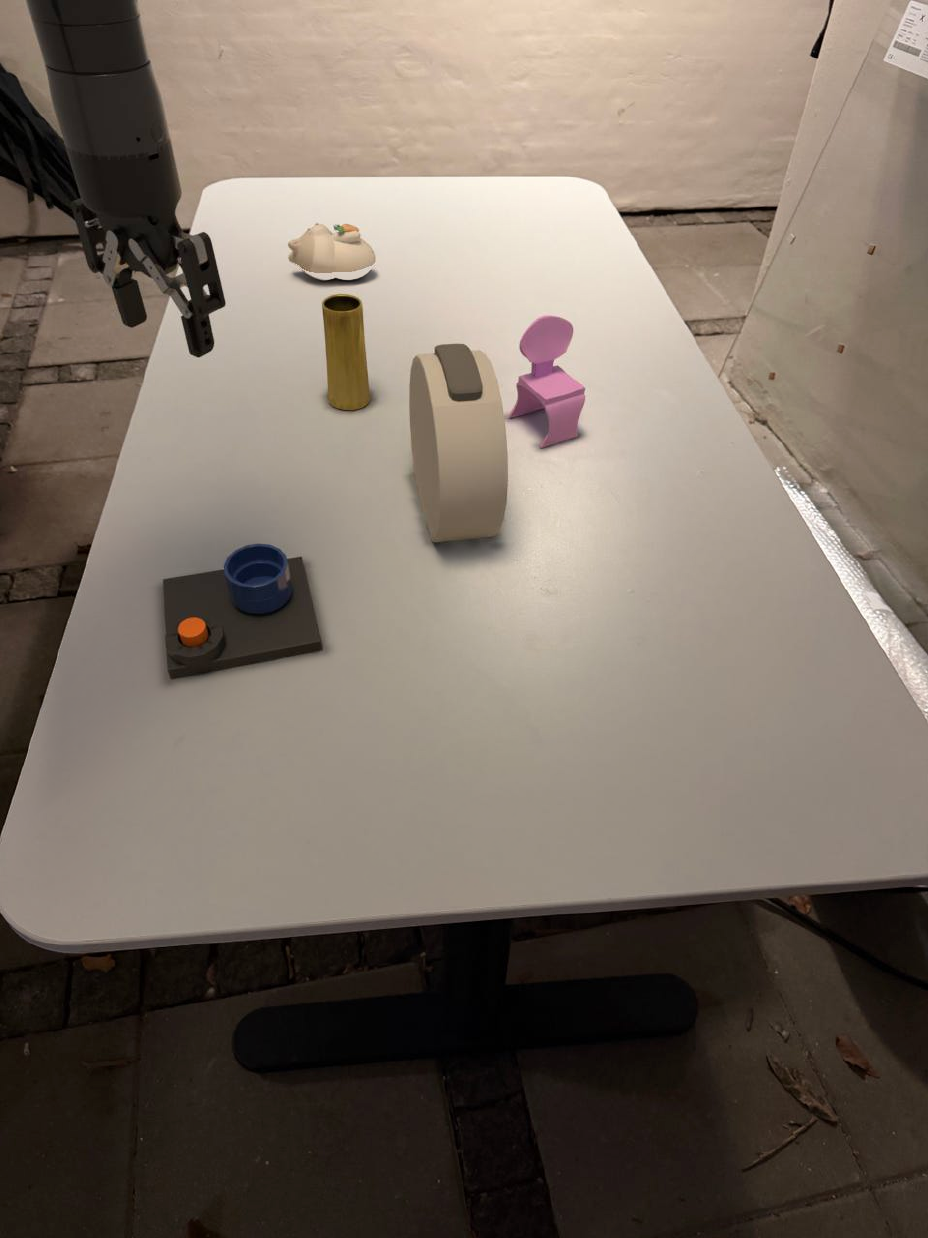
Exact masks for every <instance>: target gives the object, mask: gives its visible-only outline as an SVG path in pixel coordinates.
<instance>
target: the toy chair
mask: <svg viewBox="0 0 928 1238" xmlns="http://www.w3.org/2000/svg"><path fill="white" fill-rule="evenodd" d="M573 335H574V326H573V324H572V322H570V321H569V320H567V319H565V318H563V317H560V316H556V315H542V316H540V317H538V318H536V319H535V320H534V321H532V322H531V324H530V325H529V326H528V327H527V328H526V329H525V331H524V333H523V334H522V335H521V338H520V341H519V348H518V349H519V351H520V353H521V355H522V356H523V357H524V358H526V359H527V360H528V362H529V363H531V365H530V366H531V368H530V369H531V370H530V371H531V372H529V373H525V374H522V375H519V376H518V380H517V382H516V384H515V385H516V390H517V397H516V398H517V399H516V402H515V404H514V406H513V408H512V409H511V411H510V413H509V414H508V416H507V418H508V419H510V420H511V419H514V418H517V417H520V416H523V415H526V414H527V415H528V414H530V413H533V412H536V411H540V410H543V409H544V411H545V414H546V416H547V420H548V423H549V429H548V432H547V434H546V435H545V437H544V439H543V440H542V442H541V444H540V445H539V449H544V448H547V447H550V446H552V445H556V444H559V443H561V442H565V441H568V440H571V439H573V438H576V437H578V436H579V433H578V432H579V431H578V430H579V429H578V428H579V427H578V426H579V419H580V416H581V413H582V411H583V408H584V404H585V402H586V395H585V391H586V387H585V386H584V385H583V384H582V383H580V382H579V381H578V380H576V379H574V378H573V377H572V376H571V375H569V374H568V373H567V372H566V371H565V370H564V369H563V368H562V367H560V365H558V364H557V365H554V362H555V360H556V359H558V358H560V357H561V356H562V355H564V354H566V353H567V351H568V349H569V346H570V344H571V343H572V339H573V337H574V336H573Z"/></svg>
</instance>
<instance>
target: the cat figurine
mask: <svg viewBox="0 0 928 1238" xmlns="http://www.w3.org/2000/svg"><path fill="white" fill-rule="evenodd" d="M333 230H334V231H337V232H335V233H333V232H332V231H331V230H330V229H329V228H328V227H327V226H326V225H324V224H321V223H320V224H319V223H318V222H316V223H314V226H312V227H311V228H308V229H306V231H305V232H304V233H303V234H302V235H301V236H300V237H298V238H295V239H291V240H290V241H288V243H287V246H288V248H289V249H290V250H291V252H290V253H289V254H288V255H287V258H288V261H289V262H290V263H291V262H292V263H291V264H293V263H295V264H294V265H296V264H297V265H296V266H298V265H299V266H298V267H299V268H300V267H301V268H302V269H304V270H306V271H309V272H314V273H332V272H352V271H353V272H354V271H357V270H361V269H364V268H366V267H369V266H372V265H373V264H374V263H375V264H376V254H375V251H374V249H373V248H372V246H371V245H370V244H369V243H368V242H367V241H365V240H364V239H362V238H361V232H360V229H359V228H358V227H357V226H355V225H351V224H348V223H343V224H341V225H340V224H334V225H333ZM301 268H300V269H301ZM302 269H301V270H302Z"/></svg>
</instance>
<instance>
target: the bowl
mask: <svg viewBox="0 0 928 1238" xmlns="http://www.w3.org/2000/svg"><path fill="white" fill-rule="evenodd" d="M287 559H288V556H287V554H286V553H284V551H283V550H282V549H280V548H279V547H277V546H274V545H273V544H268V543H253V544H247V545H244V546H242V547H239V548H237V549H235V550H234V551H233V552H232V553H230V555H228V556H227V557H226V559H225V561H224V564H223V565H222V567H223V569H224V575H225V578H226V582H227V586H228V590H229V594H230V597H231V601H232V602H233V604H234V605H235V606H236V607H237V608H238V609H240V610H242V611H244V612H246V613H253V614H264V613H269V612H272V611H275V610H277V609H278V608H280V607H282V606H283V605H284V604H285V603H286V602H287V601H288V600H289V599H290V596H291V593H292V590H293V589H292V584H291V578H290V572H289V566H288V561H287Z"/></svg>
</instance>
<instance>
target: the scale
mask: <svg viewBox="0 0 928 1238" xmlns="http://www.w3.org/2000/svg"><path fill="white" fill-rule="evenodd" d="M287 561H288V566H289V572H290V578H291V584H292V589H293V590H292V593H291V596H290V599H289V600H288V601H287V602H286V603H285V604H284V605H283V606H282V607H280V608H278V609H277V610H275V611H272V612H269V613H264V614H253V613H246V612H244V611H242V610H240V609H238V608H237V607H236V606H235V605H234V604H233V602H232V601H231V597H230V594H229V590H228V586H227V582H226V578H225V575H224V568H223V569H216V570H211V571H204V572H199V573H198V572H197V573H192V574H186V575H179V576H173V577H167V578H163V579H162V586H163V587H162V588H163V603H164V604H163V607H164V625H165V627H164V628H165V635H164V642H165V648H166V662H167V663H166V664H167V672H168V674H169V677H170V679H177V678H182V677H186V676H192V675H197V674H198V675H199V674H202V673H207V672H212V671H218V670H223V669H229V668H234V667H239V666H245V665H250V664H256V663H260V662H266V661H270V660H276V659H280V658H285V657H292V656H296V655H302V654H307V653H312V652H318V651H322V650H323V645H322V640H321V635H320V629H319V625H318V621H317V618H316V613H315V608H314V604H313V600H312V596H311V590H310V586H309V581H308V577H307V574H306V568H305V564H304V559H303V557H302V556H295V557H289V558H287ZM188 618H200V619H202V620H203V621H204V622H205V625H206V628H207V631H208V639H207V641H206V642H205V643H204V644H202V645H200V646H197V647H188V646H185V645H184V644H183V643H182V641H181V638H180V635H179V632H178V627H179V625H180V623H181V622H182V621H184V620H186V619H188Z"/></svg>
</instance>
